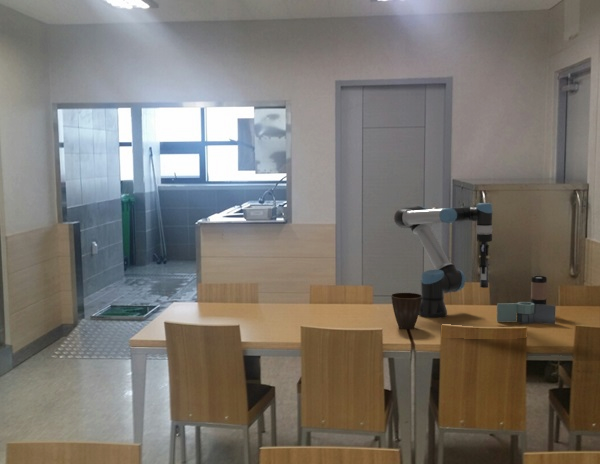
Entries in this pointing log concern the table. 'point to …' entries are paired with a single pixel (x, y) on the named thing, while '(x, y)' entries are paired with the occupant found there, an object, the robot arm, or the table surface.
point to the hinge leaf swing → (513, 310)
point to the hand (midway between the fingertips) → (484, 279)
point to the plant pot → (406, 309)
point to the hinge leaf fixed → (539, 315)
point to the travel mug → (538, 290)
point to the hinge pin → (485, 282)
